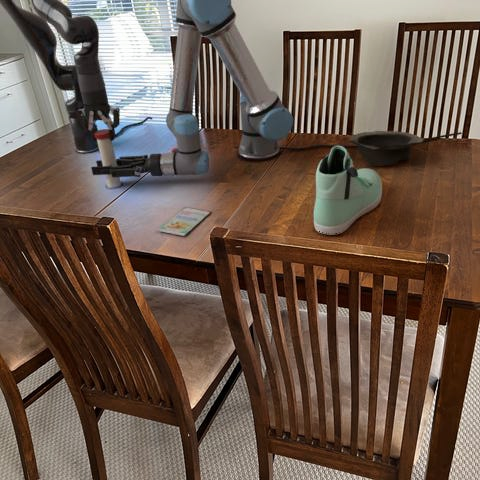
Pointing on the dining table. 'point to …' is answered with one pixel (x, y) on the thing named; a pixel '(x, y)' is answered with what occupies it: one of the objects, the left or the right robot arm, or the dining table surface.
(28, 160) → the dining table surface
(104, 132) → the lid
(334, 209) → the sneaker
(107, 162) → the jar
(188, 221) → the baking ingredient package
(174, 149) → the candy cane
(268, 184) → the dining table surface
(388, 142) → the stone bowl
